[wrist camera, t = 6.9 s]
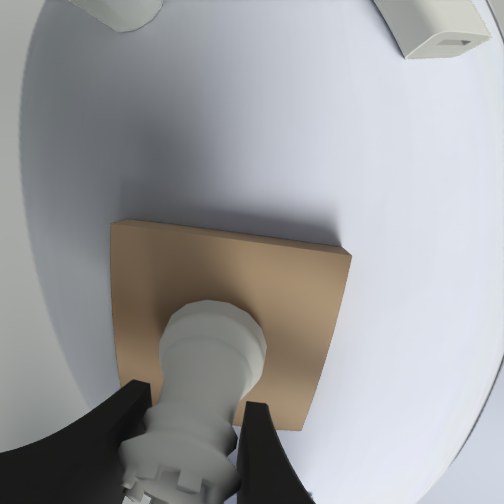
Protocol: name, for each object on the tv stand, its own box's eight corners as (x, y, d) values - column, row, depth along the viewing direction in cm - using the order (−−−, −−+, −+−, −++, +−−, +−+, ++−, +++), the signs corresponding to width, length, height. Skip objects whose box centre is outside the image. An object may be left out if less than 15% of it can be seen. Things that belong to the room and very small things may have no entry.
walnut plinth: (298, 413, 15) (301, 430, 14) (132, 386, 15) (123, 401, 14) (342, 247, 13) (351, 255, 11) (125, 218, 13) (110, 223, 11)
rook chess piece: (288, 339, 12) (308, 507, 4) (223, 394, 13) (197, 539, 5) (206, 273, 12) (123, 420, 4) (149, 340, 13) (65, 473, 5)
